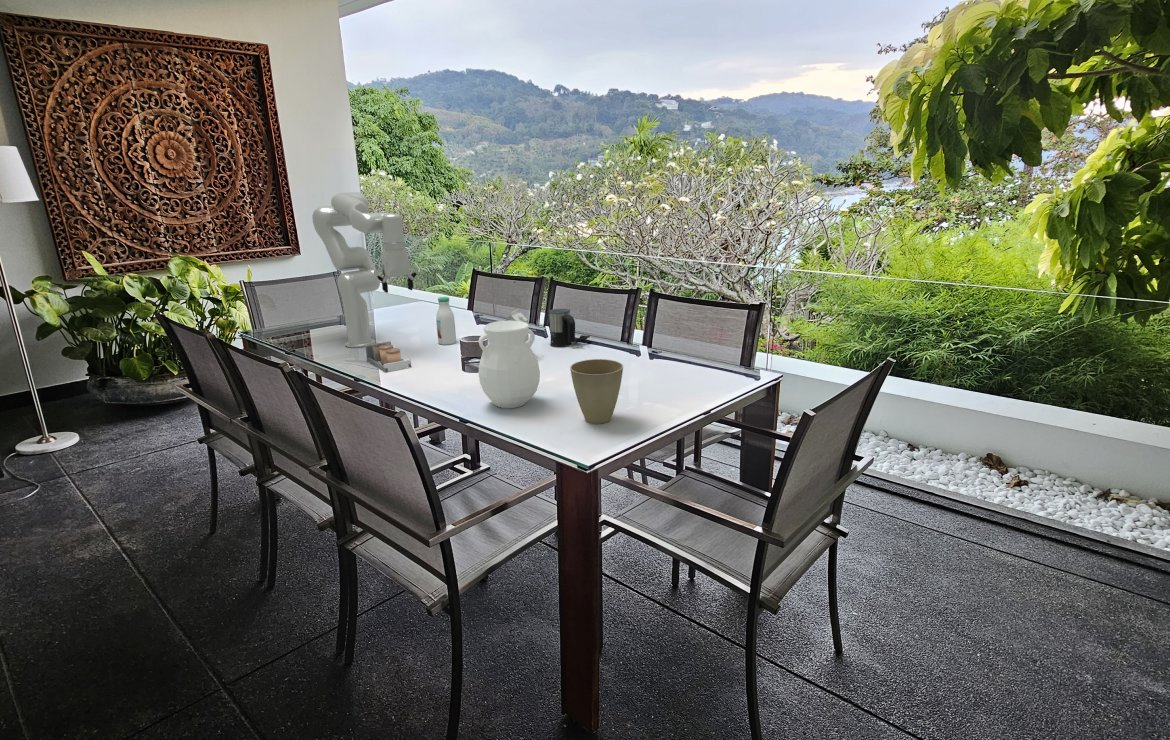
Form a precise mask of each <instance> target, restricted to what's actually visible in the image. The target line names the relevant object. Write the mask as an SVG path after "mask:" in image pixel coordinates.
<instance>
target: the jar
mask: <svg viewBox="0 0 1170 740" xmlns="http://www.w3.org/2000/svg"><path fill="white" fill-rule="evenodd" d="M391 348H394V345H393V344H391V345H390V344H387V345H381V346H379V350H380V358H381V361H380V364H382V365H383V366H384V364H387V356H386V351H385V350H387V349H391Z"/></svg>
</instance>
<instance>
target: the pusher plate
mask: <svg viewBox="0 0 1170 740" xmlns="http://www.w3.org/2000/svg"><path fill="white" fill-rule="evenodd" d="M387 344H390V345H392V341H390V340H389V341H383V342H375V343H374V344H372V345H371V346H372V347H373V355H374V360H375V361H377V362H378V363H379V362H381V358H380V350H379V346H381V345H387Z"/></svg>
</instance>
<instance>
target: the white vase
mask: <svg viewBox="0 0 1170 740" xmlns="http://www.w3.org/2000/svg"><path fill="white" fill-rule="evenodd" d="M529 327H530V325H529V323H528V324H527V323H525V322H521V321H505V320H499V321H493V322H489V323H487V324H485V325H484V326H483V331H484V332H483V334H481V335H480V336H479V338H478V345H479V348H480V349H481V350H482V352H481V353H482V354H481V357H480V361H479V365H478V378H479V379H478V380H479V384H480V386H481V388H482V391H483V393H484V395H486V396H487V398H488V399H489V400H490V401H491V402H492V403H493V404H494V405H495V406H496V407H497V406H498V408H500V407H501V408H502V409H516V408H520V407H522V406H524V405H525V404H526V403H528V402H529V400H530V399H532V398H533V396H534V395H535V394H536V392H537V390H538V387H539V384H540V377H541V370H540V365H539V361H538V359H537V357H536V356H537V355H535V352H534V351H533V350H532V348H531V347H532V345H533V344H534V343H535V338H536V336H535V333H534V332H533V330H531V329H530V328H529ZM527 334H528V335H529V334H530V335H529V339H528V341H526V342H524V339H525V338H526V336H527ZM486 339H487V340H488V344H487V345H486V346H485V344H484V341H485V340H486ZM515 407H516V408H515Z"/></svg>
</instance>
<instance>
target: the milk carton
mask: <svg viewBox="0 0 1170 740" xmlns="http://www.w3.org/2000/svg"><path fill="white" fill-rule="evenodd" d="M504 321H521V322H525V323H527V324H528V325H529V322H528V321H529V319H528V318H527V317H526V316H524V314H523V313H522V312H521V311H520V308H518V309H516V310H513V311H510V315H509V316H507V318H506V319H504ZM529 338H530V335H529V333H528V334H527V336H526V338H525V339H524V342H526V341H528V339H529Z"/></svg>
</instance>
